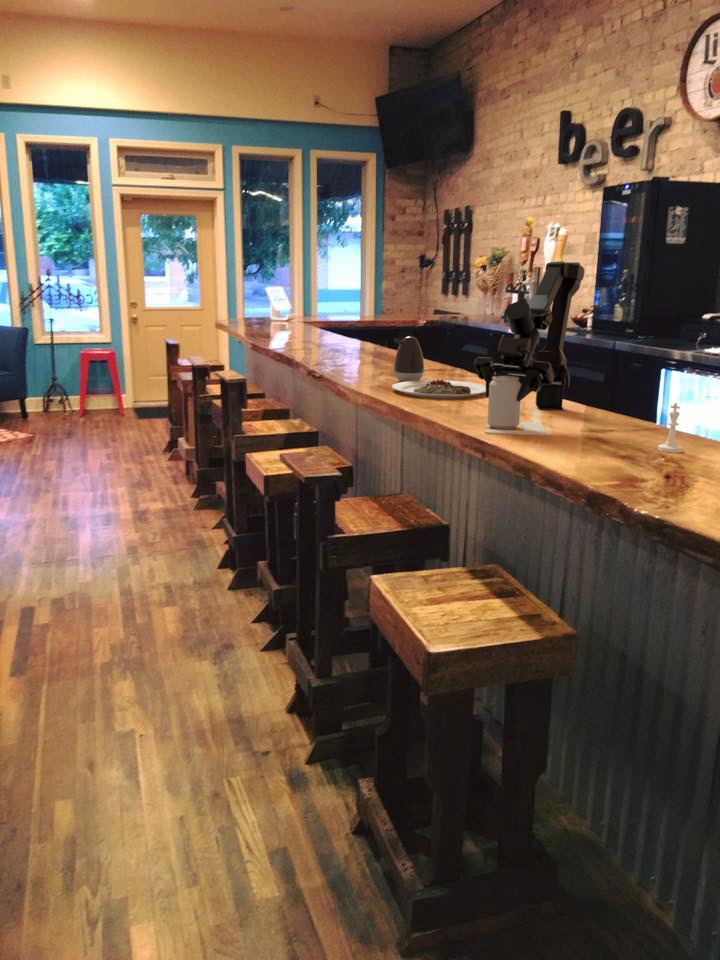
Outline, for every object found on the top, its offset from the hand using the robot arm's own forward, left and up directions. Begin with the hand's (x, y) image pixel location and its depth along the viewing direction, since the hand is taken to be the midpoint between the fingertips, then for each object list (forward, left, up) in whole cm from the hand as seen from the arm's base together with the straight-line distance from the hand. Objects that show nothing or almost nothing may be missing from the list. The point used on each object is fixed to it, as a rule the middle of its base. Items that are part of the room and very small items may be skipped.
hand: (502, 398), depth 182 cm
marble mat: (-3, 0, -7) cm, 8 cm away
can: (-1, -1, -7) cm, 7 cm away
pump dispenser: (+26, -76, -7) cm, 81 cm away
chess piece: (-34, +18, -7) cm, 39 cm away
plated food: (+15, -55, -8) cm, 58 cm away
